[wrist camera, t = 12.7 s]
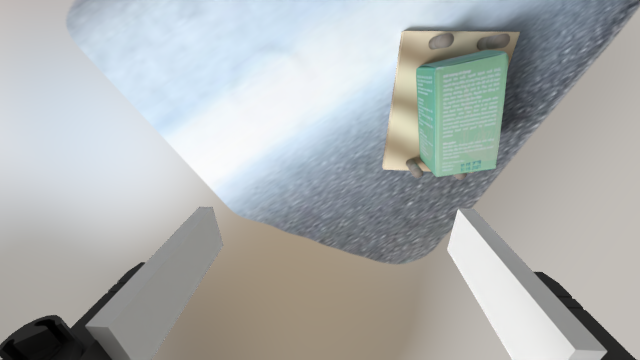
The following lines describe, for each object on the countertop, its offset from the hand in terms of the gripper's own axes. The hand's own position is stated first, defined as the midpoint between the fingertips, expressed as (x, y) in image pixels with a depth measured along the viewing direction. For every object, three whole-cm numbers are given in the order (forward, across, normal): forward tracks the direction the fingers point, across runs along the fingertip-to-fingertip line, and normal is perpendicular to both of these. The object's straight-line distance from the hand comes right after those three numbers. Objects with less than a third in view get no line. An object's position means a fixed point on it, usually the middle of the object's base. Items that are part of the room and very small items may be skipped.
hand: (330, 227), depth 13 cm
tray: (+26, +15, +2) cm, 30 cm away
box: (+25, +15, +2) cm, 29 cm away
